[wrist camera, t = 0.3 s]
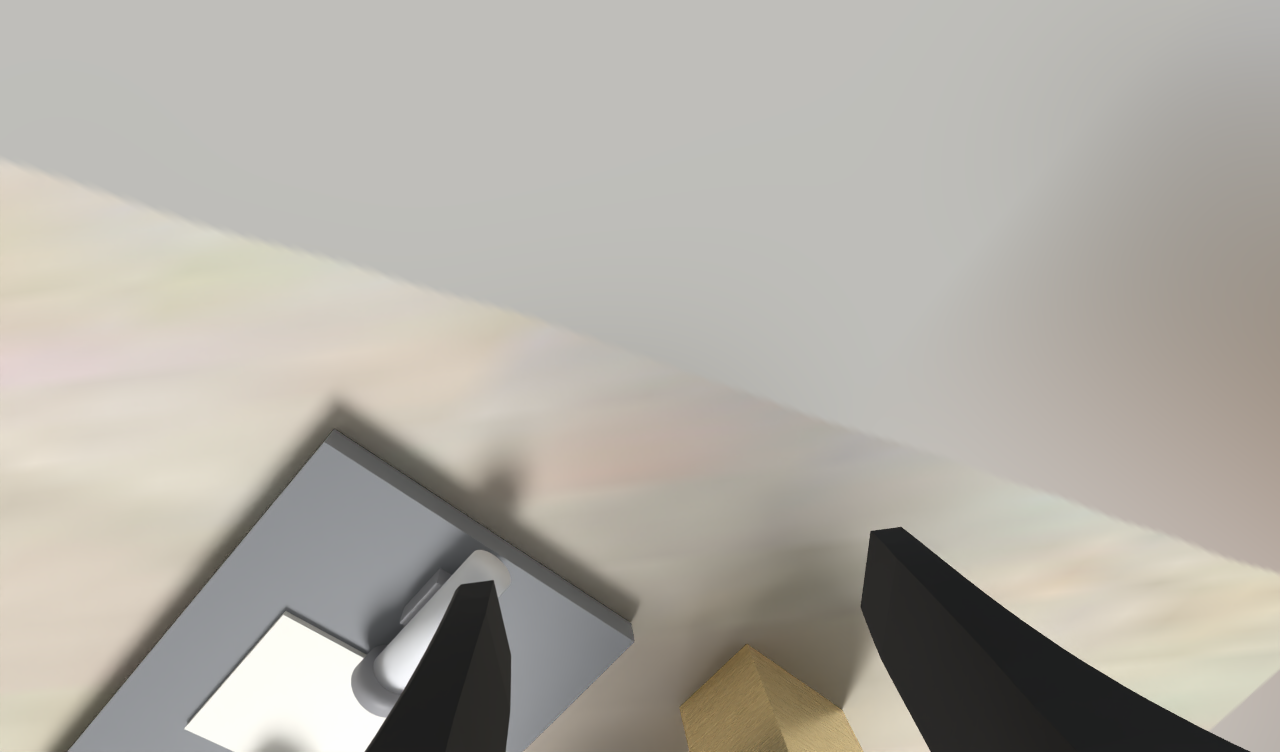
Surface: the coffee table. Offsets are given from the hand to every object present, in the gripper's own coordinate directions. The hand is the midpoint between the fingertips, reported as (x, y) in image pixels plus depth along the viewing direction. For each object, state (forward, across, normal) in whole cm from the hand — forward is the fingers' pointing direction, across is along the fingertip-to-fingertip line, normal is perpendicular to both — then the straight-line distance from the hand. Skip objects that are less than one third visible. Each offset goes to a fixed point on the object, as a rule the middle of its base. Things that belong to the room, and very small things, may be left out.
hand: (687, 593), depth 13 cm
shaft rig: (+8, +12, +12) cm, 19 cm away
